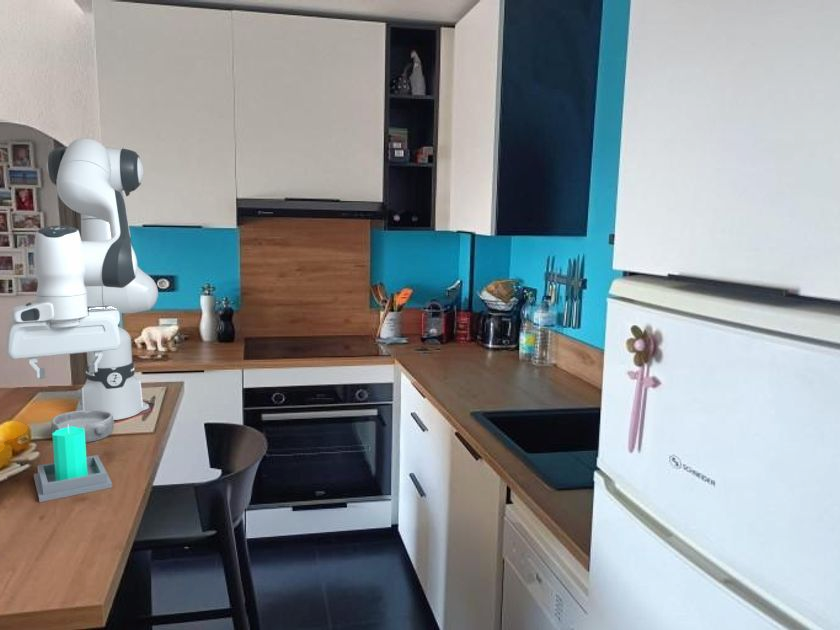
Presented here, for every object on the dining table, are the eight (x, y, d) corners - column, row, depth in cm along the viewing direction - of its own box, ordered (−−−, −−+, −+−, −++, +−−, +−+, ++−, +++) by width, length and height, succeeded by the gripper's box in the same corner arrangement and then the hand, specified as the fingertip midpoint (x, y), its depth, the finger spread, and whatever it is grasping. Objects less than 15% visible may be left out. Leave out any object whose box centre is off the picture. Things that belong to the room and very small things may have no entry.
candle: (72, 487, 131) (69, 430, 129) (48, 483, 133) (44, 427, 131) (94, 475, 137) (91, 421, 135) (70, 472, 139) (67, 418, 137)
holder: (34, 478, 137) (33, 465, 137) (101, 465, 145) (100, 453, 144) (39, 502, 127) (38, 487, 126) (112, 487, 134) (111, 473, 133)
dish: (112, 442, 159) (111, 422, 158) (48, 448, 154) (46, 428, 153) (116, 423, 173) (115, 405, 172) (56, 428, 167) (55, 410, 167)
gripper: (116, 302, 138) (119, 365, 141) (2, 309, 127) (8, 377, 129) (122, 306, 133) (125, 372, 136) (4, 314, 122) (10, 385, 124)
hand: (67, 375), depth 132 cm, fingers open, 8 cm apart
